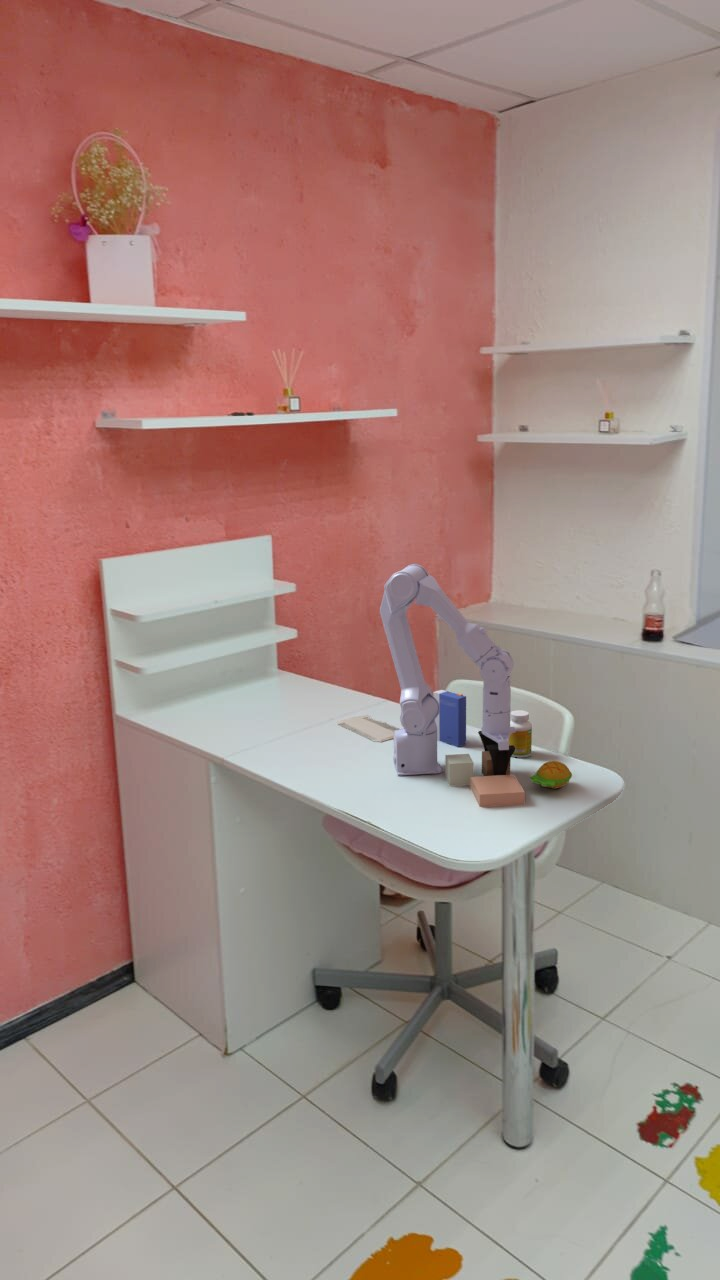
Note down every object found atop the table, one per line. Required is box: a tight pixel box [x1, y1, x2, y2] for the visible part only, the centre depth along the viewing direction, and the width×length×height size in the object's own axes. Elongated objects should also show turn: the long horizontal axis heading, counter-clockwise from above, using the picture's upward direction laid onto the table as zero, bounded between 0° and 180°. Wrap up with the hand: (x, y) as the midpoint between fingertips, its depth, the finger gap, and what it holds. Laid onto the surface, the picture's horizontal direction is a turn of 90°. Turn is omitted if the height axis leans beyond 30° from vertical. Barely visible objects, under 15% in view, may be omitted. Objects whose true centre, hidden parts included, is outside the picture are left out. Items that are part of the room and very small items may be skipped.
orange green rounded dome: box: [529, 760, 573, 789], centre depth 196 cm, size 7×10×5 cm
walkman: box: [432, 689, 467, 748], centre depth 223 cm, size 8×3×12 cm, turn 43°
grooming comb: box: [336, 714, 402, 743], centre depth 235 cm, size 18×10×1 cm, turn 35°
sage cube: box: [444, 753, 474, 787], centre depth 202 cm, size 5×5×5 cm
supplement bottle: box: [509, 709, 533, 759], centre depth 215 cm, size 5×5×10 cm
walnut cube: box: [481, 750, 512, 776], centre depth 203 cm, size 5×5×5 cm
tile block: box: [470, 774, 526, 808], centre depth 194 cm, size 9×9×3 cm
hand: (495, 770), depth 203 cm, fingers open, 7 cm apart
